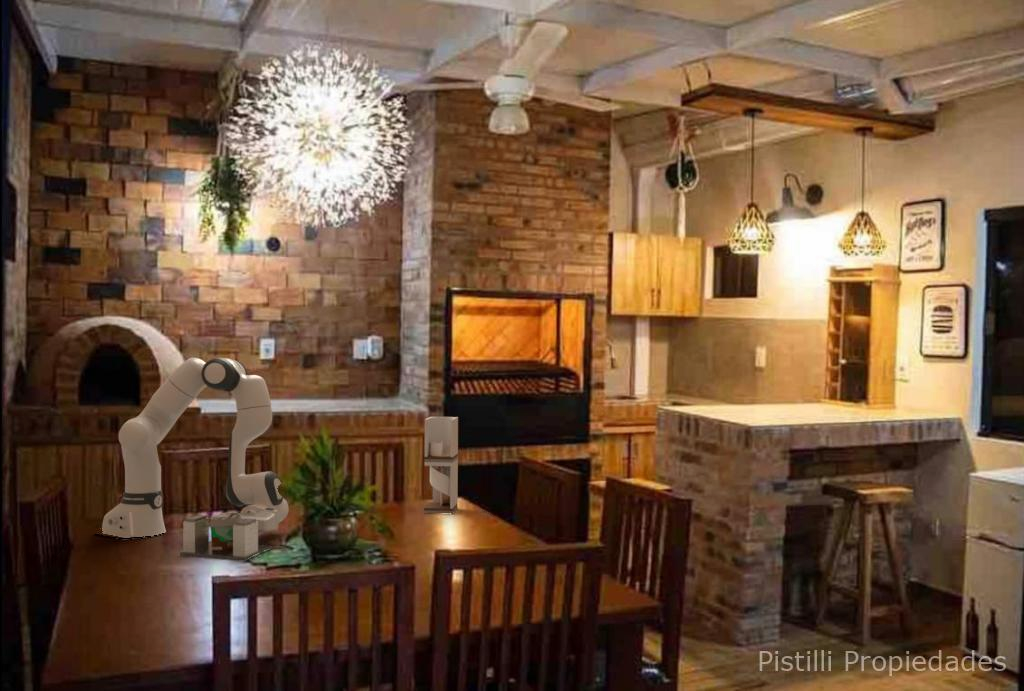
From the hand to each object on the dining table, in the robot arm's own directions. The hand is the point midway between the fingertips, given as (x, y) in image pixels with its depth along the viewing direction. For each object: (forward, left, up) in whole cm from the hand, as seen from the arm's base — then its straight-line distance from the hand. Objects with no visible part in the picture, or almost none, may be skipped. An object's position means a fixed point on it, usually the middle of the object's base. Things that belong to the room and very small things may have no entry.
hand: (229, 526), depth 278 cm
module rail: (0, -2, -8) cm, 8 cm away
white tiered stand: (+39, +80, -8) cm, 89 cm away
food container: (+1, -1, -7) cm, 7 cm away
